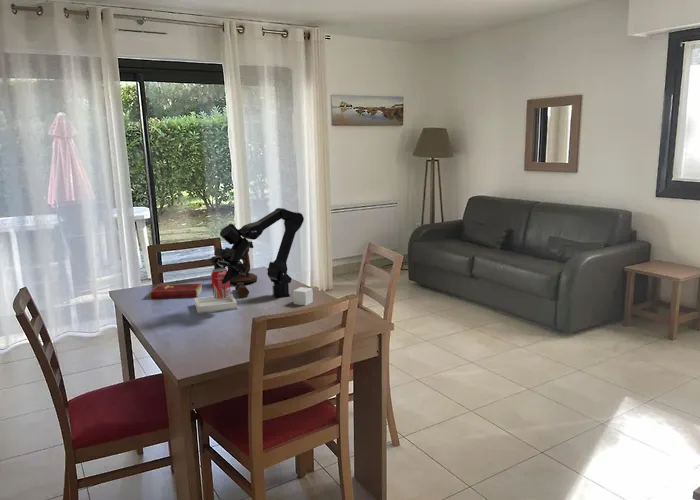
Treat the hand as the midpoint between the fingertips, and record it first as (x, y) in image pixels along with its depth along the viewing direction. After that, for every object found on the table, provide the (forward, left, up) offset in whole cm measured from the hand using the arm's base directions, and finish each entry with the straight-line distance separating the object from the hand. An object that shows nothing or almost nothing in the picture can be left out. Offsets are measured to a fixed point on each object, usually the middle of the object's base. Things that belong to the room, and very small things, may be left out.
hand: (217, 282), depth 216 cm
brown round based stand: (-18, -47, -13) cm, 52 cm away
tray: (0, -10, -13) cm, 16 cm away
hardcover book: (+14, -37, -14) cm, 42 cm away
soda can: (-2, 0, -7) cm, 7 cm away
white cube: (-36, 0, -13) cm, 38 cm away
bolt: (-14, -26, -14) cm, 32 cm away
